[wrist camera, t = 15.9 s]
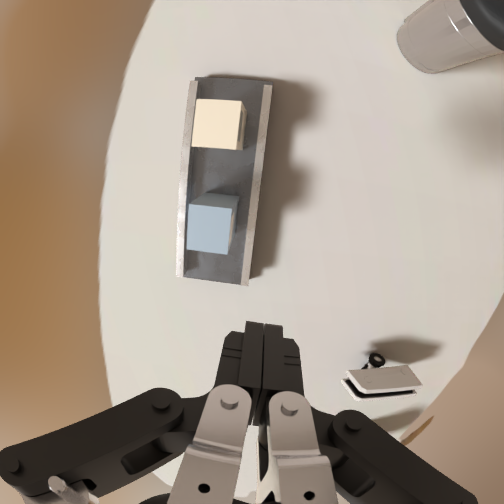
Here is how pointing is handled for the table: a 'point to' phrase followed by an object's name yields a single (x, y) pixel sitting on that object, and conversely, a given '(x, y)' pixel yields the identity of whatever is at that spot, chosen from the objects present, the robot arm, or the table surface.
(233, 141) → the block
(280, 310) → the table surface
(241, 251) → the tray
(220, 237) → the block
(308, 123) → the table surface
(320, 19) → the table surface
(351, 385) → the grey wheeled device
